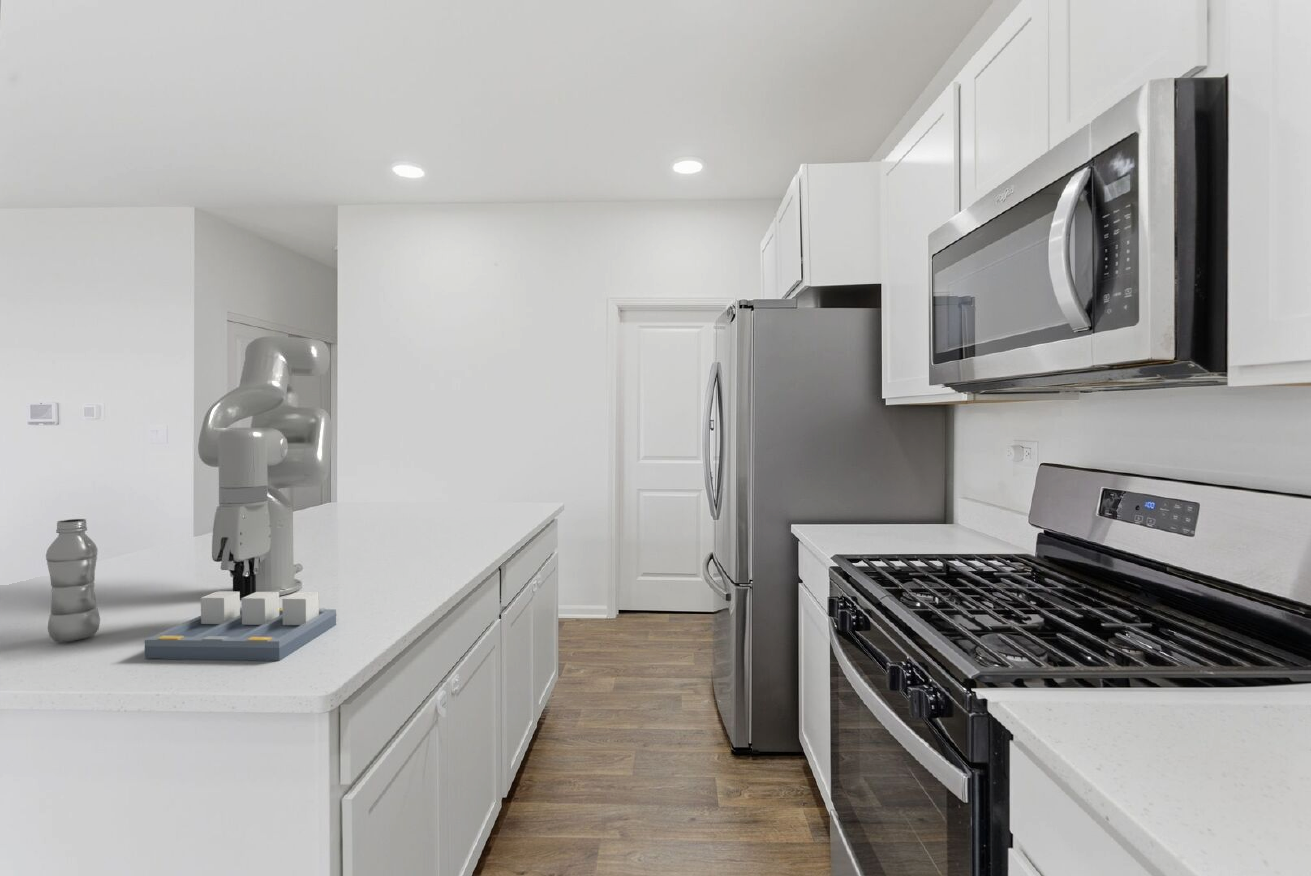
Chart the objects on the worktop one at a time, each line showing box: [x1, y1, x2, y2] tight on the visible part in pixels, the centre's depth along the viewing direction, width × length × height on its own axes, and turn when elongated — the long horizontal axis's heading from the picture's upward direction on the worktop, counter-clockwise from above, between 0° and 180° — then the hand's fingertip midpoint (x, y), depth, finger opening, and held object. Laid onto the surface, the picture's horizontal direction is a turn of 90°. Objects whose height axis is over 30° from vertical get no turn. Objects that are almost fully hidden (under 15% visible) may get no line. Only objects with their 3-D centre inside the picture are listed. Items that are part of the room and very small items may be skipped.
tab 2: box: [241, 592, 280, 625], centre depth 111 cm, size 4×4×4 cm
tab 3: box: [281, 591, 320, 625], centre depth 111 cm, size 4×4×4 cm
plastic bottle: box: [45, 518, 101, 642], centre depth 107 cm, size 6×7×20 cm
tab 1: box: [200, 590, 241, 624], centre depth 111 cm, size 4×4×4 cm
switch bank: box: [144, 606, 337, 662], centre depth 107 cm, size 17×21×3 cm
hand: (244, 596), depth 117 cm, fingers closed
